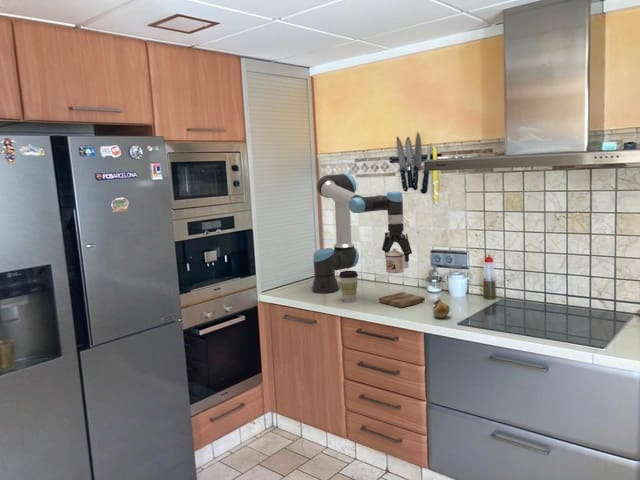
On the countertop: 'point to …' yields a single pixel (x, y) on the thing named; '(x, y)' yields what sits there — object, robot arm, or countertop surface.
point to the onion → (440, 309)
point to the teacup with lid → (394, 262)
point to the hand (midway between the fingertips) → (397, 266)
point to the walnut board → (401, 299)
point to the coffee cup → (348, 285)
